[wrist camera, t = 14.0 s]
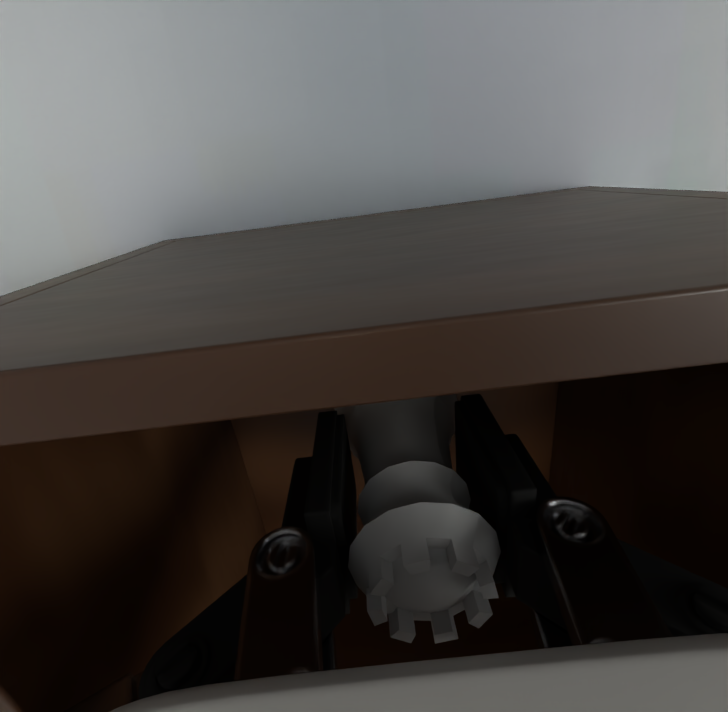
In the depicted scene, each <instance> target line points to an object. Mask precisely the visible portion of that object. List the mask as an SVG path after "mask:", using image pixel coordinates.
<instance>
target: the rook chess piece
mask: <svg viewBox="0 0 728 712" xmlns="http://www.w3.org/2000/svg"><path fill="white" fill-rule="evenodd" d="M455 401H458V400H457V396H456V394H451V395H442V396H433V397H425V398H416V399H407V400H399V401H390V402H381V403H373V404H364V405H355V406H347V407H338V408H334V409H335V410H337V413H338V415H341V414H344V416H345V422H346V428H347V434H348V440H349V446H350V450H351V451H352V453H353V455H354V456H355V457H356V458H357V459H358V460H359V461H360V465H361V469H362V473H363V478H364V483H365V487H364V488H363V490H362V491H361V493H360V494H359V502H358V511H357V512H358V514H359V516H360V519H361V521H362V523H363V525H364V527H363V528H362V530H361V531H360V533H359V534H358V535H357V537H356V538H355V540H354V541H353V543H352V544H351V545H350V551H349V561H348V568H349V570H350V572H351V574H352V577H353V579H354V581H355V583H356V585H357V586H358V587H359V588H360V589H361V590H362V592H363V593H364V594H365V595H366V596H367V612H368V614H369V616H370V618H371V620H372V622H373V624H374V626H376V625H379V624H381V623H384V622H387V621H388V620H387V614H388V618H389V630H390V637H391V638H395V639H398V640H401V641H405V642H408V643H412V641H413V639H414V637H415V635H416V632H415V625H414V620H421V621H431V624H432V630H433V636H434V641H435V644H436V643H441V642H446V641H450V640H455V639H458V635H457V630H456V626H455V622H454V617H453V616H454V615H456V614H457V613H459V612H461V611H463V610H465V612H466V615H467V619H468V623H469V624H471V625H473V626H475V627H477V628H480V627H481V626H482V625H483V624H484V623H485V622H486V621H487V620H488V619H489V618H490V617H491V616H492V615H493V613H492V610H491V607H490V604H489V601H488V599H493V598H499V597H498V594H497V590H496V586H495V582H494V579H493V574H494V571H495V568H496V565H497V562H498V559H499V556H500V553H501V550H500V545H499V541H498V537H497V533H496V531H495V530H494V529H493V528H492V527H491V526H490V524H489V523H488V522H487V521H486V520H485V519H484V518H483V517H482V516H481V515H480V514H478V513H476V512H474V511H472V510H470V509H469V505H470V501H471V498H470V495H469V491H468V487H467V484H466V482H465V481H464V480H463V479H462V478H461V477H460V476H459V475H458V474H457V473H456V472H455V471H454V470H453V469H452V463H451V456H450V449H449V445H450V444H451V439H452V436H453V434H454V433H455V407H454V406H455Z"/></svg>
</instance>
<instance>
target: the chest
mask: <svg viewBox="0 0 728 712" xmlns="http://www.w3.org/2000/svg"><path fill="white" fill-rule="evenodd" d="M451 394H456V396H457V400H458V401H460V399H461V396H464V395H472V394H481V396H482V397H483V399H484V401H485V402H486V404H487V406H488V407H489V409H490V411H491V412H492V414H493V416H494V417H495V419H496V421H497V423H498V424H499V426H500V428H501V429H502V431H503V433H504V434H516V435H517V436H518V437H519V438H520V440H521V441H522V443H523V444H524V446H525V448H526V449H527V451H528V452H529V454H530V455H531V457H532V459H533V460H534V462H535V463H536V465H537V466H538V468H539V469H540V471H541V473H542V474H543V476H544V477H545V479H546V480H547V482H548V483H549V485H550V487H551V488H552V490H553V491H554V493H555V494H556V496H557V497H571V498H574V499H578V500H581V501H583V502H585V503H587V504H589V505H591V506H593V507H594V508H595V509H596V510H598V511H599V512H600V513H601V514H602V515H603V516H604V518H605V519H606V520H607V522H608V524H609V525H610V527H611V529H612V531H613V532H614V534H615V536H616V538H617V539H619V540H621V541H624V542H626V543H628V544H630V545H632V546H635V547H637V548H639V549H641V550H643V551H646V552H648V553H650V554H652V555H655V556H657V557H659V558H661V559H663V560H666V561H668V562H670V563H672V564H674V565H677V566H679V567H681V568H683V569H686V570H688V571H690V572H692V573H694V574H697V575H699V576H701V577H703V578H705V579H708V580H710V581H712V582H714V583H716V584H719V585H721V586H723V587H725V588H726V589H728V192H717V191H693V190H669V189H645V188H621V187H594V186H588V187H580V188H572V189H564V190H556V191H549V192H541V193H533V194H525V195H517V196H509V197H502V198H494V199H486V200H478V201H470V202H462V203H455V204H447V205H439V206H431V207H423V208H415V209H408V210H400V211H392V212H384V213H376V214H368V215H361V216H353V217H345V218H337V219H329V220H321V221H314V222H306V223H298V224H290V225H282V226H274V227H267V228H259V229H251V230H243V231H235V232H227V233H220V234H212V235H204V236H196V237H188V238H180V239H173V240H165V241H161V242H158V243H155V244H152V245H149V246H147V247H144V248H141V249H138V250H135V251H132V252H129V253H126V254H123V255H120V256H117V257H114V258H111V259H108V260H105V261H103V262H100V263H97V264H94V265H91V266H88V267H85V268H82V269H79V270H76V271H73V272H70V273H67V274H64V275H61V276H59V277H56V278H53V279H50V280H47V281H44V282H41V283H38V284H35V285H32V286H29V287H26V288H23V289H20V290H17V291H15V292H12V293H9V294H6V295H3V296H0V712H64V711H65V710H67V709H69V708H70V707H72V706H74V705H75V704H77V703H79V702H80V701H82V700H84V699H85V698H87V697H89V696H90V695H92V694H94V693H96V692H97V691H99V690H101V689H102V688H104V687H106V686H107V685H109V684H111V683H112V682H114V681H116V680H117V679H119V678H121V677H122V676H124V675H126V674H127V673H129V672H132V674H133V676H135V675H137V674H139V673H140V672H142V671H144V669H145V667H146V665H147V664H148V662H149V661H150V659H151V658H152V656H153V655H154V653H155V652H156V651H157V650H158V649H159V648H160V647H161V646H162V645H163V644H164V643H165V642H166V641H168V640H169V639H170V638H171V637H172V636H174V635H175V634H176V633H177V632H178V631H180V630H181V629H182V628H183V627H184V626H186V625H187V624H188V623H189V622H190V621H192V620H193V619H194V618H195V617H196V616H198V615H199V614H200V613H201V612H202V611H204V610H205V609H206V608H207V607H208V606H209V605H211V604H212V603H213V602H214V601H215V600H217V599H218V598H219V597H220V596H221V595H223V594H224V593H225V592H226V591H227V590H229V589H230V588H231V587H232V586H233V585H235V584H236V583H237V582H238V581H239V580H241V579H242V578H243V577H244V576H245V575H247V572H248V564H249V558H250V555H251V551H252V549H253V548H254V546H255V545H256V543H257V542H258V541H259V540H260V539H261V538H262V537H263V536H264V535H266V534H267V533H269V532H271V531H272V530H275V529H278V528H281V527H282V522H283V517H284V512H285V507H286V502H287V497H288V492H289V487H290V482H291V477H292V472H293V467H294V463H295V460H296V458H302V457H311V456H312V454H313V447H314V440H315V433H316V426H317V419H318V413H319V412H326V411H335V409H334V408H338V407H347V406H355V405H364V404H373V403H381V402H390V401H399V400H407V399H416V398H425V397H433V396H442V395H451ZM449 449H450V456H451V463H452V469H453V470H454V471H455V472H456V447H455V433H454V434H453V436H452V439H451V444H450V445H449ZM350 452H351V458H352V464H353V470H354V476H355V483H356V494H357V511H358V502H359V494H360V493H361V491H362V490H363V488H364V487H365V483H364V478H363V473H362V469H361V465H360V461H359V460H358V459H357V458H356V457H355V456H354V455H353V453H352V451H351V450H350ZM363 527H364V525H363V523H362V521H361V519H360V516H359V514H358V512H357V535H358V534H359V533H360V531H361V530H362V528H363ZM495 586H496V590H497V594H498V597H499V598H493V599H488V601H489V604H490V607H491V610H492V613H493V615H492V616H491V617H490V618H489V619H488V620H487V621H486V622H485V623H484V624H483V625H482V626H481V627H480V628H477V627H475V626H473V625H471V624H469V623H468V619H467V615H466V612H465V610H463V611H461V612H459V613H457V614H456V615H454V616H453V617H454V622H455V626H456V630H457V635H458V639H455V640H450V641H446V642H441V643H436V644H435V641H434V636H433V630H432V624H431V621H421V620H414V625H415V632H416V635H415V637H414V639H413V641H412V643H408V642H405V641H401V640H398V639H395V638H391V637H390V630H389V618H388V614H387V620H388V621H387V622H384V623H381V624H379V625H376V626H374V624H373V622H372V620H371V618H370V616H369V614H368V612H367V596H366V595H365V594H364V593H363V592H362V590H361V589H360V588H359V587H358V598H355V599H350V614H345V617H344V618H343V619H342V620H341V622H340V623H339V624H338V625H337V626H336V627H335V628H334V632H335V642H336V654H337V666H338V669H347V668H356V667H366V666H375V665H385V664H394V663H404V662H414V661H424V660H434V659H444V658H454V657H464V656H474V655H484V654H494V653H504V652H514V651H524V650H535V649H539V647H538V643H537V640H536V636H535V632H534V629H533V625H532V622H531V618H530V614H529V608H528V606H527V605H526V604H524V603H523V602H521V601H519V600H518V599H516V597H507V598H506V597H505V594H504V591H503V588H502V586H501V583H498V584H495Z"/></svg>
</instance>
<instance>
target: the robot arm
mask: <svg viewBox="0 0 728 712" xmlns="http://www.w3.org/2000/svg"><path fill="white" fill-rule="evenodd" d="M454 407H455V447H456V473H457V474H458V475H459V476H460V477H461V478H462V479H463V480H464V481H465V482H466V484H467V487H468V491H469V495H470V498H471V501H470V505H469V509H470V510H472V511H474V512H476V513H478V514H480V515H481V516H482V517H483V518H484V519H485V520H486V521H487V522H488V523H489V524H490V526H491V527H492V528H493V529H494V530H495V531H496V533H497V537H498V541H499V545H500V550H501V553H500V556H499V559H498V562H497V565H496V568H495V571H494V574H493V579H494V582H495V584H498V583H501V586H502V588H503V591H504V594H505V597H506V598H507V597H516V599H518V600H519V601H521V602H523V603H524V604H526V605H527V606H528V608H529V614H530V618H531V622H532V625H533V629H534V632H535V636H536V640H537V643H538V647H539V649H535V650H524V651H514V652H504V653H494V654H484V655H474V656H464V657H454V658H444V659H434V660H424V661H414V662H404V663H394V664H385V665H375V666H366V667H356V668H347V669H338V666H337V654H336V642H335V632H334V628H335V627H336V626H337V625H338V624H339V623H340V622H341V620H342V619H343V618H344V617H345V614H350V599H355V598H358V586H357V585H356V583H355V581H354V579H353V577H352V574H351V572H350V570H349V568H348V561H349V551H350V545H351V544H352V543H353V541H354V540H355V538H356V537H357V494H356V483H355V476H354V470H353V464H352V458H351V452H350V446H349V440H348V434H347V428H346V422H345V416H344V414H341V415H338V413H337V410H335V411H326V412H319V413H318V419H317V426H316V433H315V440H314V447H313V454H312V456H311V457H302V458H296V460H295V463H294V467H293V472H292V477H291V482H290V487H289V492H288V497H287V502H286V507H285V512H284V517H283V522H282V527H281V528H278V529H275V530H272V531H271V532H269V533H267V534H266V535H264V536H263V537H262V538H261V539H260V540H259V541H258V542H257V543H256V545H255V546H254V548H253V549H252V551H251V555H250V558H249V564H248V572H247V575H245V576H244V577H243V578H242V579H241V580H239V581H238V582H237V583H236V584H235V585H233V586H232V587H231V588H230V589H229V590H227V591H226V592H225V593H224V594H223V595H221V596H220V597H219V598H218V599H217V600H215V601H214V602H213V603H212V604H211V605H209V606H208V607H207V608H206V609H205V610H204V611H202V612H201V613H200V614H199V615H198V616H196V617H195V618H194V619H193V620H192V621H190V622H189V623H188V624H187V625H186V626H184V627H183V628H182V629H181V630H180V631H178V632H177V633H176V634H175V635H174V636H172V637H171V638H170V639H169V640H168V641H166V642H165V643H164V644H163V645H162V646H161V647H160V648H159V649H158V650H157V651H156V652H155V653H154V655H153V656H152V658H151V659H150V661H149V662H148V664H147V665H146V667H145V669H144V671H142V672H140V673H139V674H137V675H135V676H133V674H132V672H129V673H127V674H126V675H124V676H122V677H121V678H119V679H117V680H116V681H114V682H112V683H111V684H109V685H107V686H106V687H104V688H102V689H101V690H99V691H97V692H96V693H94V694H92V695H90V696H89V697H87V698H85V699H84V700H82V701H80V702H79V703H77V704H75V705H74V706H72V707H70V708H69V709H67V710H65V711H64V712H728V589H726V588H725V587H723V586H721V585H719V584H716V583H714V582H712V581H710V580H708V579H705V578H703V577H701V576H699V575H697V574H694V573H692V572H690V571H688V570H686V569H683V568H681V567H679V566H677V565H674V564H672V563H670V562H668V561H666V560H663V559H661V558H659V557H657V556H655V555H652V554H650V553H648V552H646V551H643V550H641V549H639V548H637V547H635V546H632V545H630V544H628V543H626V542H624V541H621V540H619V539H617V538H616V536H615V534H614V532H613V531H612V529H611V527H610V525H609V524H608V522H607V520H606V519H605V518H604V516H603V515H602V514H601V513H600V512H599V511H598V510H596V509H595V508H594V507H593V506H591V505H589V504H587V503H585V502H583V501H581V500H578V499H574V498H571V497H557V496H556V494H555V493H554V491H553V490H552V488H551V487H550V485H549V483H548V482H547V480H546V479H545V477H544V476H543V474H542V473H541V471H540V469H539V468H538V466H537V465H536V463H535V462H534V460H533V459H532V457H531V455H530V454H529V452H528V451H527V449H526V448H525V446H524V444H523V443H522V441H521V440H520V438H519V437H518V436H517V435H516V434H504V433H503V431H502V429H501V428H500V426H499V424H498V423H497V421H496V419H495V417H494V416H493V414H492V412H491V411H490V409H489V407H488V406H487V404H486V402H485V401H484V399H483V397H482V396H481V394H472V395H464V396H461V399H460V401H455V406H454Z"/></svg>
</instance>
